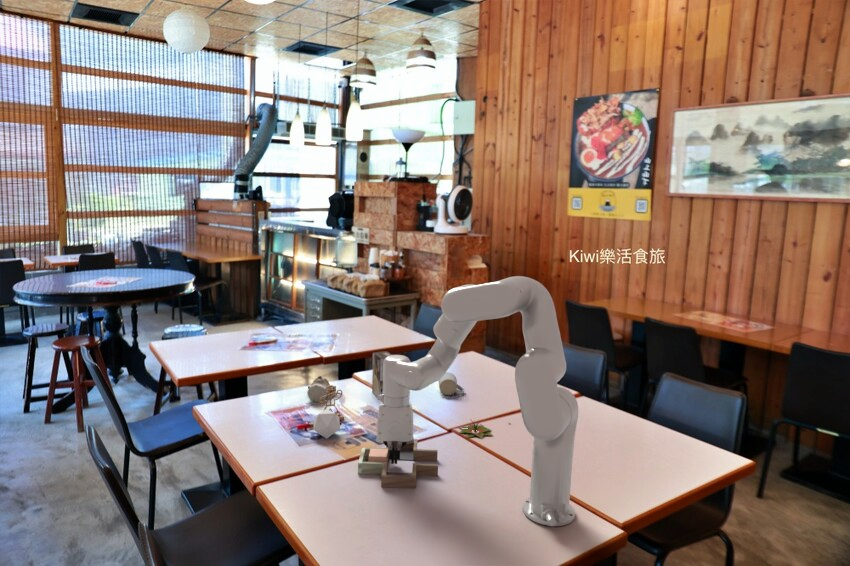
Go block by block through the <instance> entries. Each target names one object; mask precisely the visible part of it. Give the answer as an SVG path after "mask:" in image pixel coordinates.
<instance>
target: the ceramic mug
mask: <svg viewBox="0 0 850 566" xmlns="http://www.w3.org/2000/svg"><path fill="white" fill-rule="evenodd" d="M438 388H439V391H440V392H441V394H443V395H444V396H452V395H454V394H455V393H456V394H458V395H464V393H465V389H464V387H462V386H461V385H460V384H458V380H457V377H456V376H455V374H453V373H452V372H448V371H447V372H446V373H445V374H444V375H443V377H442V378H441V379H439V380H438Z"/></svg>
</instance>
